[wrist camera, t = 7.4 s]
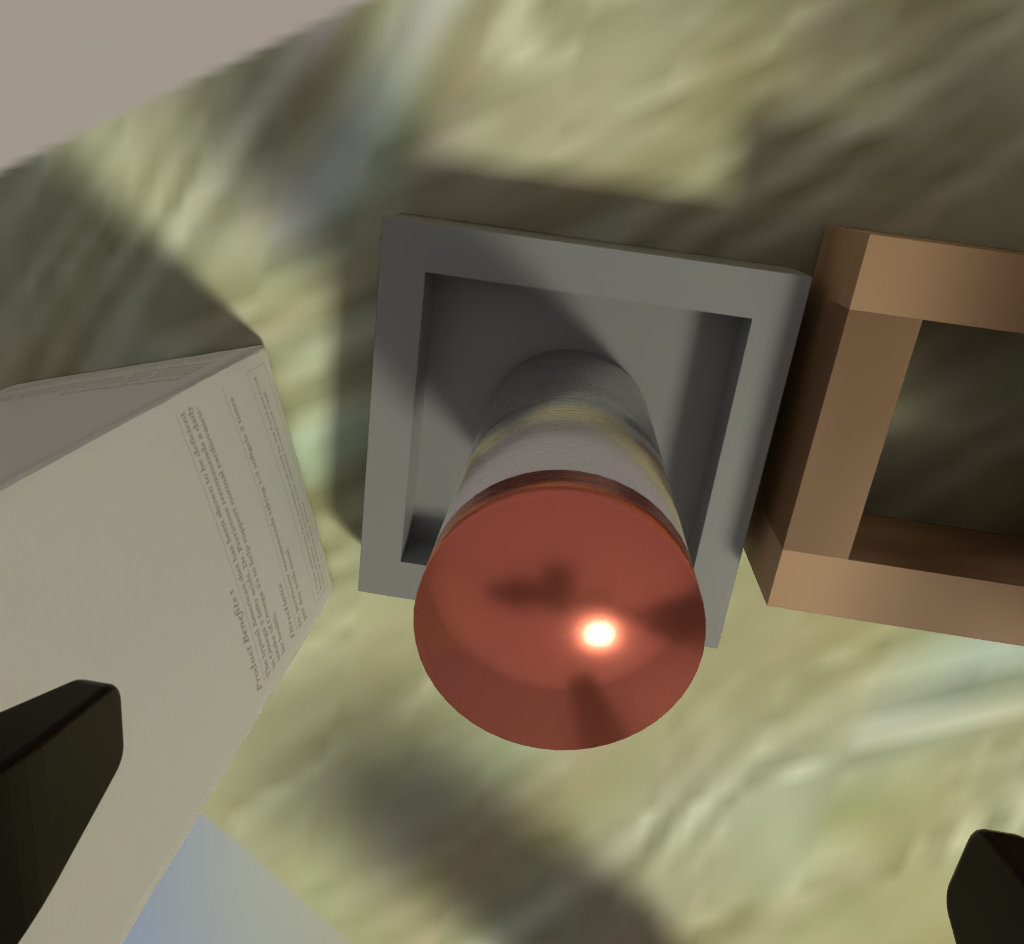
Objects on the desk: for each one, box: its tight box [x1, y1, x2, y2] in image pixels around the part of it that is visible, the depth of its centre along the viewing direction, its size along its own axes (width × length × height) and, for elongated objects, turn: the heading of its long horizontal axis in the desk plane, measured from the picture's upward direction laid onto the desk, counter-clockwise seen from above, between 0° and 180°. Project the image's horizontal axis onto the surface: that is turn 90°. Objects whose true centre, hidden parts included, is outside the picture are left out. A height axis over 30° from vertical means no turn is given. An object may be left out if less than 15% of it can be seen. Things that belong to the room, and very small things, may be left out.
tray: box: [358, 213, 813, 648], centre depth 19 cm, size 9×9×2 cm
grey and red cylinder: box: [414, 349, 706, 750], centre depth 15 cm, size 4×4×9 cm
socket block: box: [743, 225, 1024, 646], centre depth 18 cm, size 8×8×3 cm
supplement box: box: [0, 345, 334, 944], centre depth 16 cm, size 7×7×13 cm
